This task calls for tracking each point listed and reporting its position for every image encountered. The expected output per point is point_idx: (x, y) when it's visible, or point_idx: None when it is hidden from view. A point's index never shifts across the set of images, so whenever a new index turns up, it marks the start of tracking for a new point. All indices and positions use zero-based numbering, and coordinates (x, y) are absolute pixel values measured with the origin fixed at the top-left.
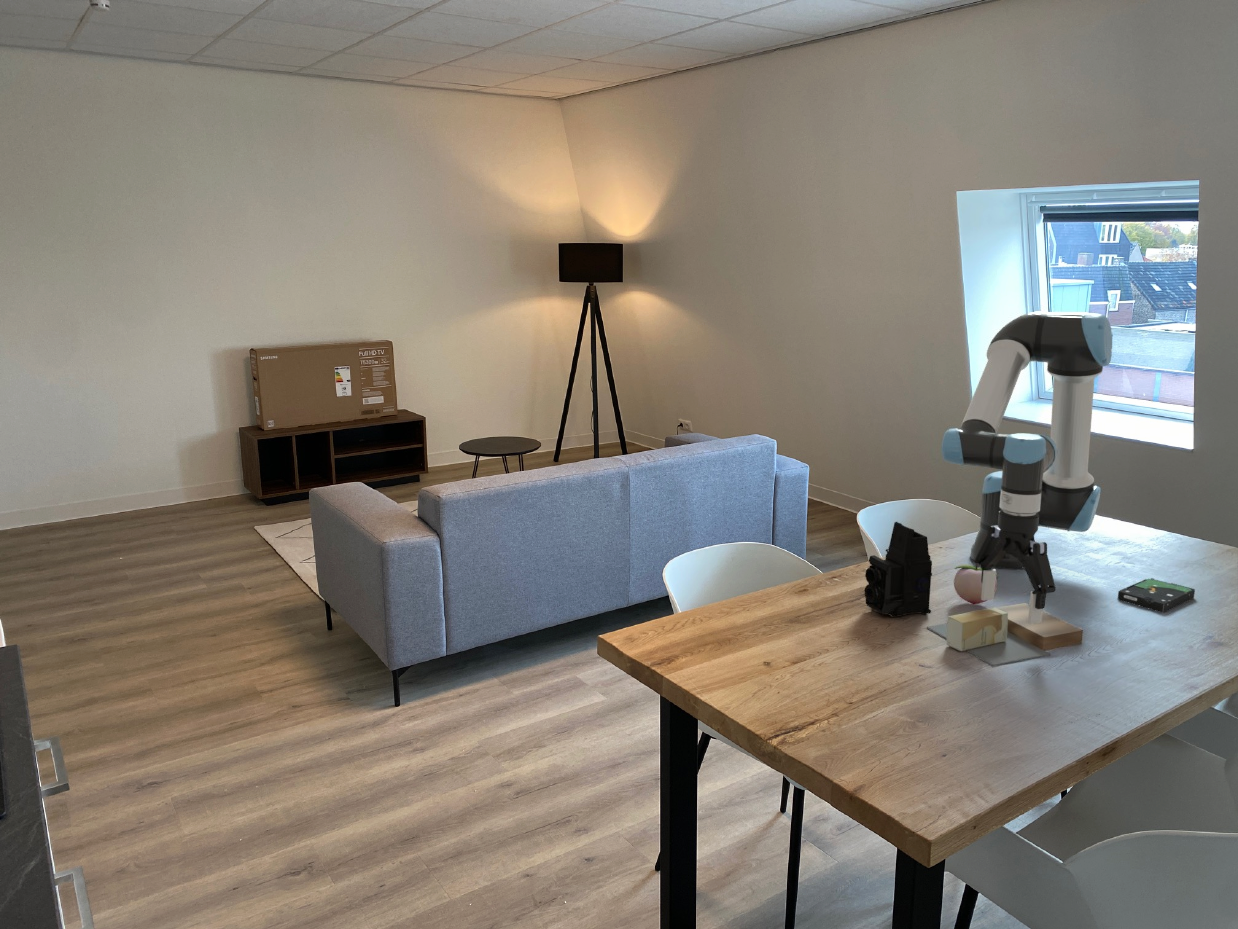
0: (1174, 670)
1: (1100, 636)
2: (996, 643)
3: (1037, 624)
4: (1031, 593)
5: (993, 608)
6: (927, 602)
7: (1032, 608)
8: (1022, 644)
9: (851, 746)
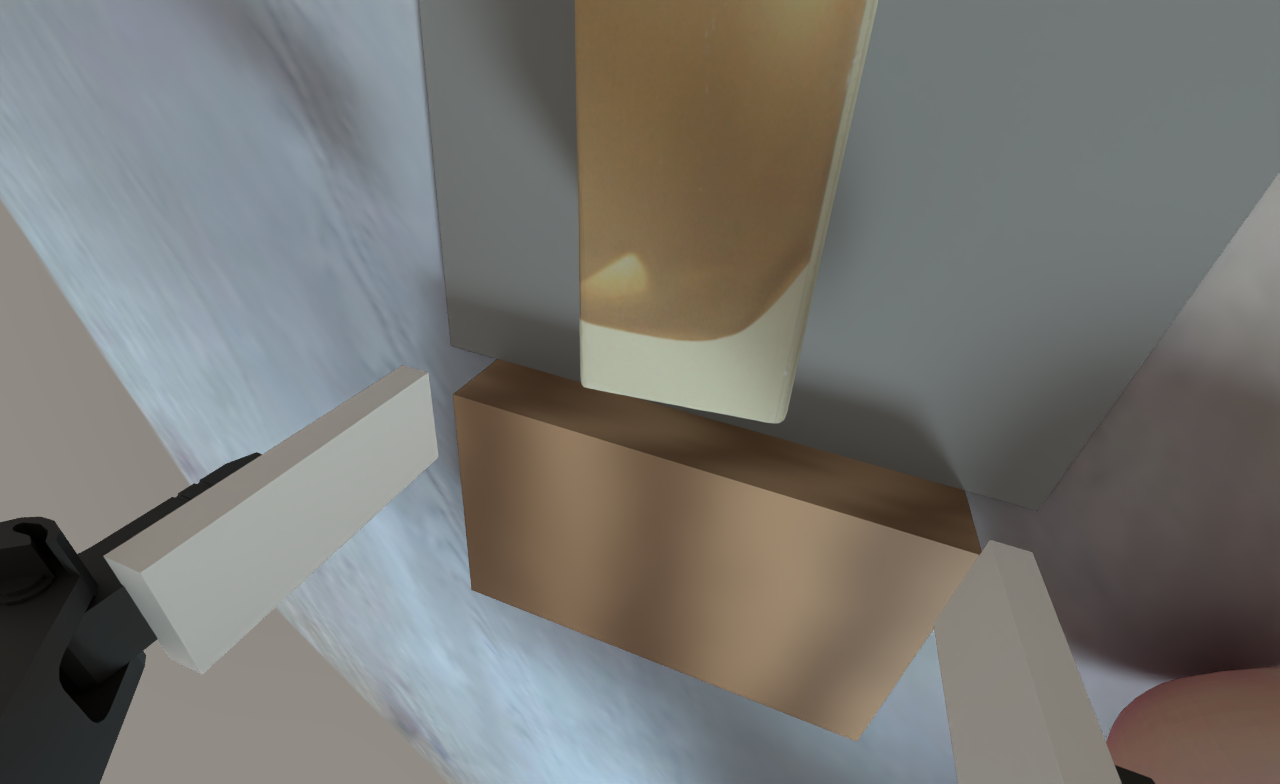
0: None
1: (538, 633)
2: None
3: (602, 525)
4: (149, 556)
5: (740, 394)
6: None
7: (291, 441)
8: None
9: None
